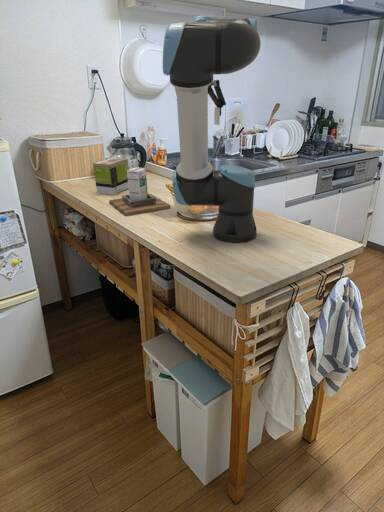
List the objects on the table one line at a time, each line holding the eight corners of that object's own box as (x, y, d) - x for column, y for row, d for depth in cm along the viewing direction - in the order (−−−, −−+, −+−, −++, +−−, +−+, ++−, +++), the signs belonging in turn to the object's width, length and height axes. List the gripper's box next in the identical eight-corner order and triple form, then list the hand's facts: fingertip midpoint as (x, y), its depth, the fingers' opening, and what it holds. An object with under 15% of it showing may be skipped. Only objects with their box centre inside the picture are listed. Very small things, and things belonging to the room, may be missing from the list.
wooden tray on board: (170, 208, 158) (170, 199, 157) (125, 216, 149) (124, 206, 148) (150, 197, 174) (150, 188, 172) (109, 203, 165) (108, 194, 163)
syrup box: (140, 205, 157) (138, 170, 151) (129, 203, 160) (126, 169, 154) (148, 201, 162) (146, 168, 156) (137, 200, 164) (134, 166, 158)
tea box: (114, 186, 193) (112, 156, 187) (131, 188, 189) (128, 158, 183) (96, 193, 181) (92, 162, 175) (113, 195, 177) (109, 164, 171)
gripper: (224, 66, 148) (223, 123, 157) (168, 65, 137) (170, 126, 146) (236, 65, 142) (233, 124, 151) (178, 64, 131) (179, 128, 140)
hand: (202, 125), depth 148 cm, fingers open, 13 cm apart
